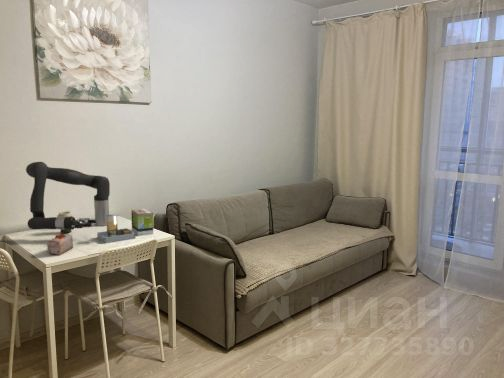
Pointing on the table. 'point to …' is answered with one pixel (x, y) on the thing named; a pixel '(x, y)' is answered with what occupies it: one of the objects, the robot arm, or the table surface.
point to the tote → (115, 237)
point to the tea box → (142, 222)
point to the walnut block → (125, 231)
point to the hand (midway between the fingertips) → (93, 223)
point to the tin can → (111, 225)
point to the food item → (60, 244)
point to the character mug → (65, 214)
